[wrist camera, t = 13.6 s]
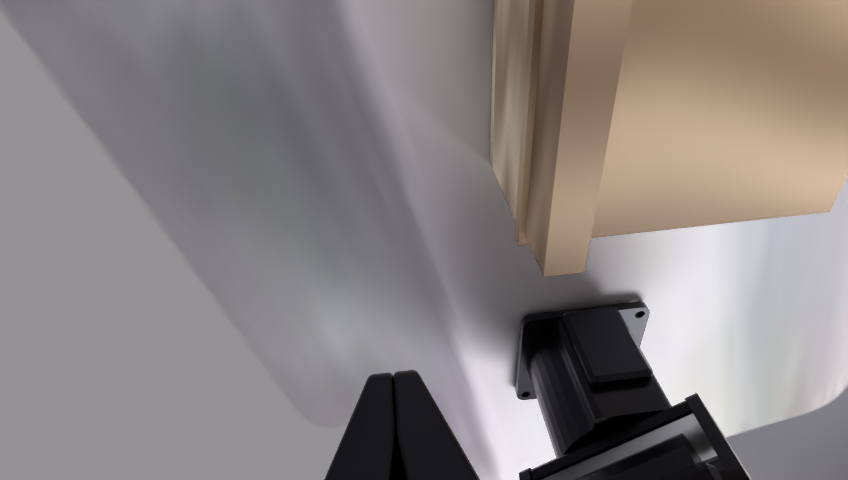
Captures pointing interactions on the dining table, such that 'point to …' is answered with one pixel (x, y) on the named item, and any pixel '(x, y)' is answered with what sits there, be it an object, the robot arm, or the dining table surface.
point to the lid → (677, 117)
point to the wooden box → (508, 93)
